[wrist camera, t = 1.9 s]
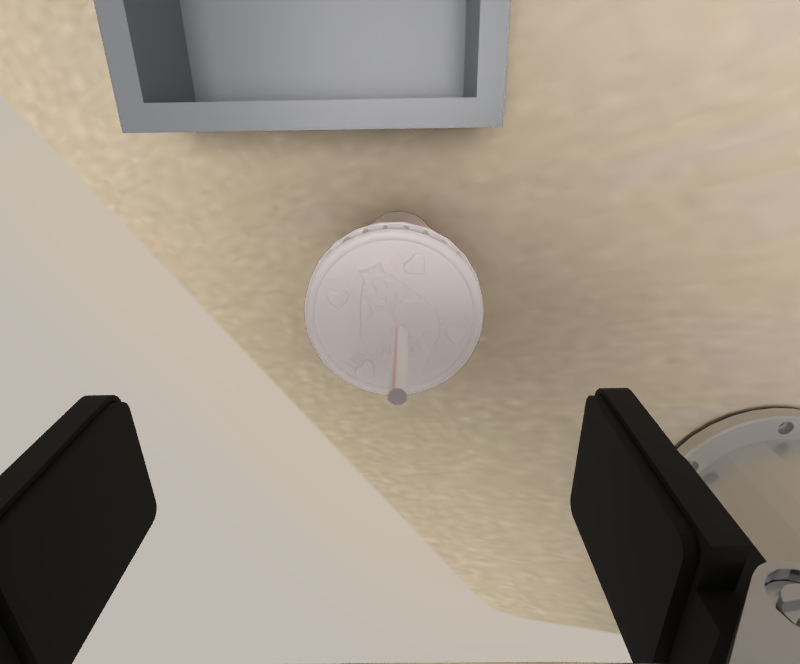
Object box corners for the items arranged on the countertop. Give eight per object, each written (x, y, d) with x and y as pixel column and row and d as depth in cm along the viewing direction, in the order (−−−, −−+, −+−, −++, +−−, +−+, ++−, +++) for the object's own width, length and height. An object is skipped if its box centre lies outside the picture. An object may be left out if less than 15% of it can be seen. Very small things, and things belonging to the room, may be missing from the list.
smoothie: (369, 321, 28) (337, 500, 16) (315, 215, 26) (225, 324, 13) (478, 277, 27) (539, 431, 15) (432, 161, 25) (455, 224, 12)
